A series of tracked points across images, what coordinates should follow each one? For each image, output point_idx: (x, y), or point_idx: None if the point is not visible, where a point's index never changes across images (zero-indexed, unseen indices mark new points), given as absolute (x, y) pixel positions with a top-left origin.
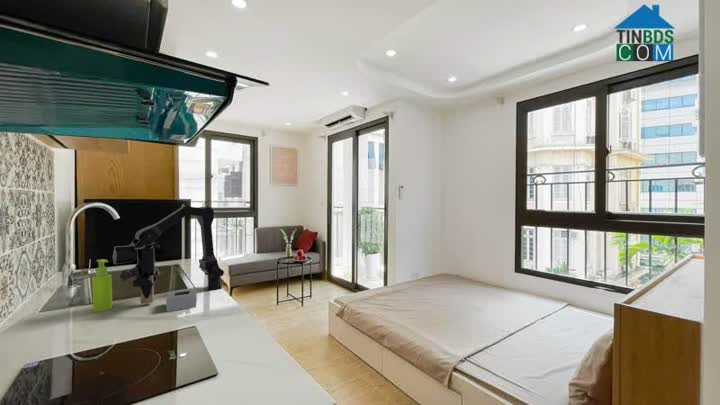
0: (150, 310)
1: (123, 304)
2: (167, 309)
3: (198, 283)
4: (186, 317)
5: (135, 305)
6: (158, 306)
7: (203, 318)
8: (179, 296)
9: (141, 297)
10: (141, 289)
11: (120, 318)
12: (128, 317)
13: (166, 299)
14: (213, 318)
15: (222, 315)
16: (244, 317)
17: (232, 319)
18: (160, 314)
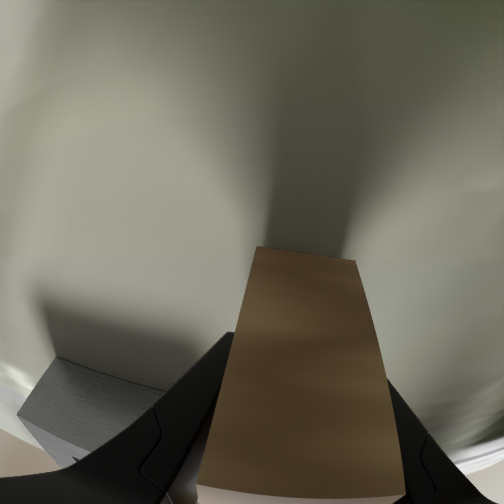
0: (105, 297)
1: (494, 71)
2: (50, 370)
3: (489, 460)
4: (4, 377)
5: (370, 176)
6: (181, 349)
7: (2, 397)
8: (58, 456)
9: (240, 310)
10: (213, 435)
11: (20, 102)
12: (18, 158)
13: (18, 414)
14: (4, 407)
15: (22, 425)
16: (14, 434)
17: (3, 420)
18: (30, 328)
